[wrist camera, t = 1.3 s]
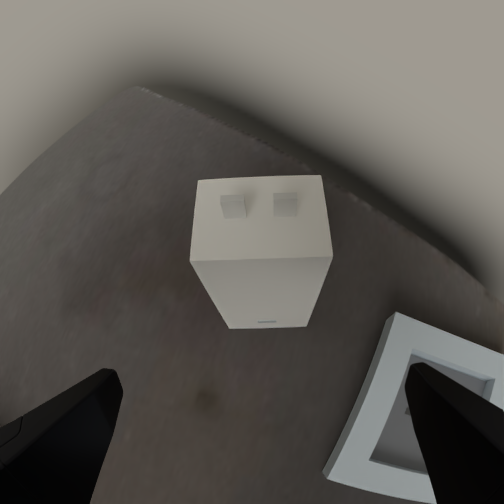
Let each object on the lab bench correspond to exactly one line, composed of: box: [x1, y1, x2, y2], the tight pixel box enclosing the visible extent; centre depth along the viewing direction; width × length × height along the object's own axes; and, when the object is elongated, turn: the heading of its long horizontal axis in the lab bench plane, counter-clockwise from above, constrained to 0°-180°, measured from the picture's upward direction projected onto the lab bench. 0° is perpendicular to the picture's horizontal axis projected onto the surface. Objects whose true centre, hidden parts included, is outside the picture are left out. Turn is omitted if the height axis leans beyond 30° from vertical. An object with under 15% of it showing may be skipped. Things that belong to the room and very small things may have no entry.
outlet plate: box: [322, 312, 504, 504], centre depth 17 cm, size 12×12×2 cm
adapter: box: [190, 175, 333, 329], centre depth 18 cm, size 4×6×13 cm
